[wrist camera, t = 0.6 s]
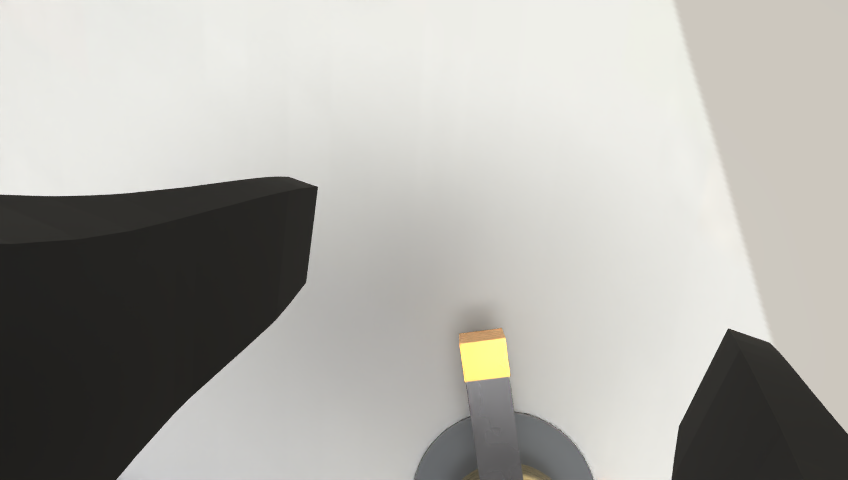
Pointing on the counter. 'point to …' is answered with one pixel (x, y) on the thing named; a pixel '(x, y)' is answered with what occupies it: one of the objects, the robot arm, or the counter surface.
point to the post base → (536, 446)
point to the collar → (492, 408)
